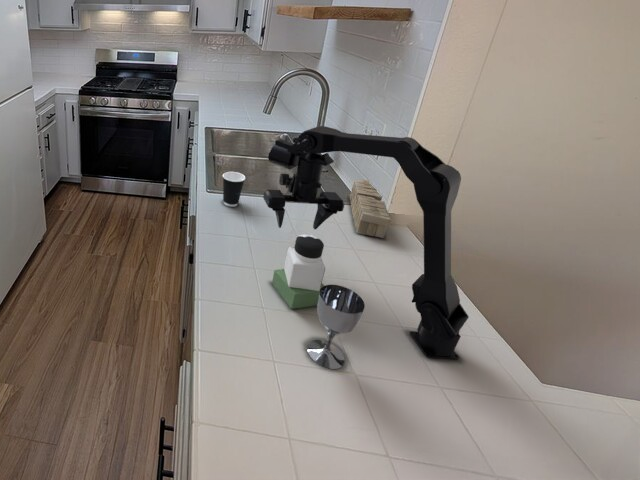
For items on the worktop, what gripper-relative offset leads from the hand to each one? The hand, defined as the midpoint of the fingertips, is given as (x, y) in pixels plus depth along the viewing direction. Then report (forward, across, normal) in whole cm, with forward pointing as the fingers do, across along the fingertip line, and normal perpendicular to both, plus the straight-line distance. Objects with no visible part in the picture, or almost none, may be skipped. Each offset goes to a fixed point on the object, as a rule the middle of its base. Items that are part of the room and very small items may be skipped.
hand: (296, 227), depth 103 cm
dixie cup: (+12, +10, -34) cm, 38 cm away
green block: (+12, +2, +12) cm, 17 cm away
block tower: (+12, -35, -29) cm, 47 cm away
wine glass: (+12, +2, +30) cm, 32 cm away
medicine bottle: (+8, +2, +12) cm, 14 cm away
